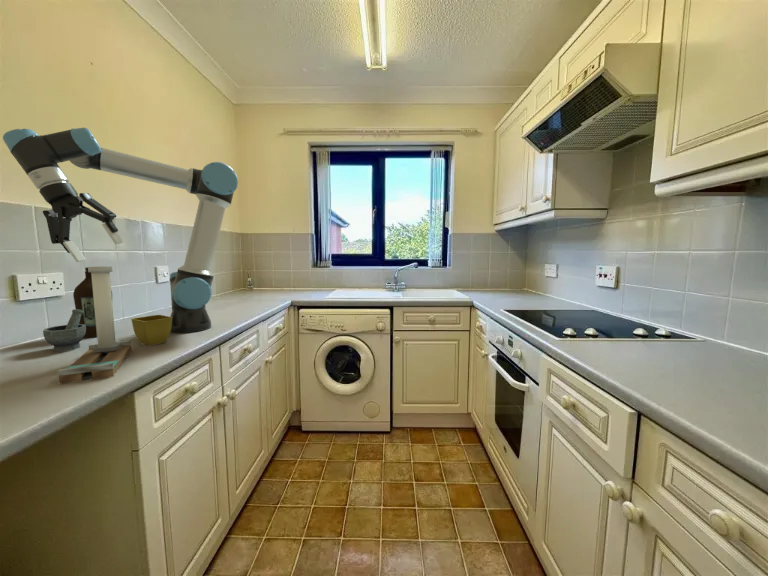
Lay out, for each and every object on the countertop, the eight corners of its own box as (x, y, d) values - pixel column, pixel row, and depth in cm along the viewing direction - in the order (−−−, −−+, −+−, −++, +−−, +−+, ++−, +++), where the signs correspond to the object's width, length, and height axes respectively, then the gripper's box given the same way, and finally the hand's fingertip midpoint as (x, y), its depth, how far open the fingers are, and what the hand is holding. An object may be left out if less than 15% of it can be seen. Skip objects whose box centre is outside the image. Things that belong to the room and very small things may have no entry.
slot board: (132, 350, 102) (131, 340, 101) (113, 376, 81) (112, 364, 80) (90, 354, 97) (89, 344, 96) (59, 383, 76) (57, 370, 76)
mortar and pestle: (68, 353, 98) (64, 314, 97) (36, 353, 97) (31, 314, 96) (98, 342, 109) (95, 308, 108) (69, 343, 109) (66, 308, 107)
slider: (120, 345, 99) (113, 266, 96) (116, 350, 94) (109, 267, 91) (98, 348, 96) (91, 266, 93) (93, 353, 92) (85, 267, 89)
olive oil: (76, 334, 120) (69, 267, 117) (113, 329, 127) (108, 266, 124) (78, 340, 112) (71, 268, 109) (117, 334, 120) (111, 267, 117)
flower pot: (161, 338, 115) (159, 314, 114) (174, 342, 111) (172, 316, 110) (132, 344, 108) (130, 318, 107) (145, 349, 103) (143, 321, 102)
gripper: (4, 204, 91) (54, 270, 97) (80, 167, 90) (126, 237, 96) (30, 203, 98) (76, 265, 104) (101, 169, 97) (143, 234, 103)
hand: (100, 252), depth 100 cm, fingers open, 13 cm apart
